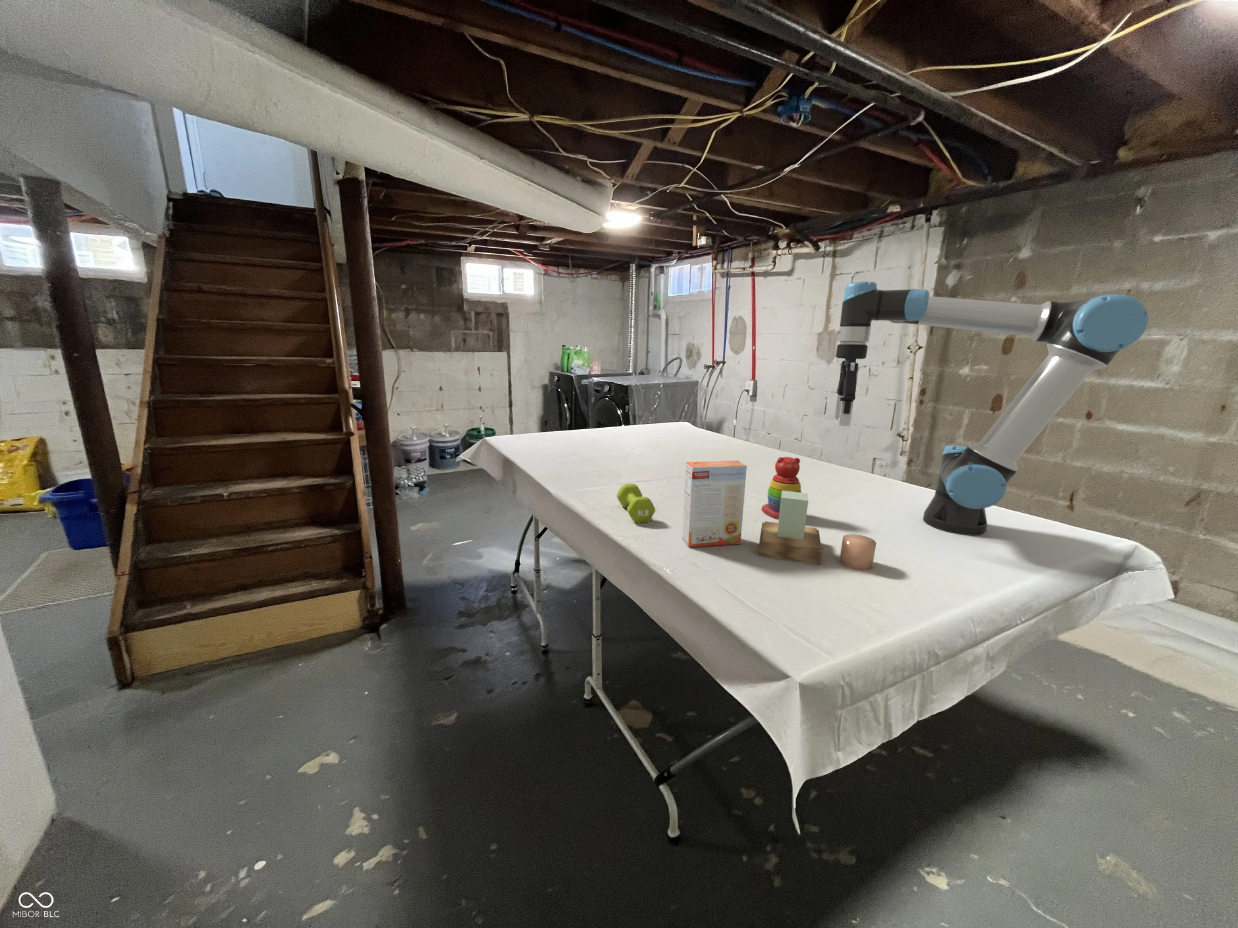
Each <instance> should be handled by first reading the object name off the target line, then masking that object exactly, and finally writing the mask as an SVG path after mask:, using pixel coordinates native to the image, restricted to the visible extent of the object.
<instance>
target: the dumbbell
mask: <svg viewBox="0 0 1238 928" xmlns="http://www.w3.org/2000/svg"><path fill="white" fill-rule="evenodd" d="M616 498H617V500H618V502H619V504H620V505H621V507H622V508H624V507H628V508H627V509H626V510H627V513H628V515H629V517H630V518H631V519H632V521H633V522H634V523H635V524H643V522H644V523H647V522H649V521H650V520H651V519H652V518H653V516H654V514H655V512H656V507H655V506H654V504H653V502H652V499H650V498H649V497H647V496H643V493H642V492H641V490H640V488H639V486H638V485H637V484H636V483H624V484H622V485H621V486H620V488H619V490H618V491H617V493H616Z"/></svg>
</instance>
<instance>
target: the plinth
mask: <svg viewBox="0 0 1238 928" xmlns="http://www.w3.org/2000/svg"><path fill="white" fill-rule="evenodd" d="M760 529H761V530H760V536H759V543H758V551H757V552H758V553H757V556H759V557H766V558H767V557H768V558H773V559H777V560H778V559H779V560H785V561H791V562H798V563H805V564H811V565H817V566H820V565H821V561H822V555H823V550H822V549H823V548H822V543H821V536H820V530H819V529H817V527H811V526H805V531H804V538H803V540H799V539H792V538H785V537H778V536H777V532H778V522H774V521H773V522H772V521H764V522H763V521H762V522H761V528H760Z"/></svg>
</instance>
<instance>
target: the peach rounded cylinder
mask: <svg viewBox="0 0 1238 928" xmlns="http://www.w3.org/2000/svg"><path fill="white" fill-rule="evenodd" d="M876 547H877V542H876V540H874V539H872V538H871V537H869V536H866V535H862V534H853V533H850V534H844V535H843V536H842V542H841V548H840V554H839V555H840V556H839V559H838V560H839V563H840V564H841V565H842V566H844V567H846V568H848V569H851V570H855V571H860V572H861V571H864V572H865V571H870V570H872V569H873V564H874V559H875V553H876Z"/></svg>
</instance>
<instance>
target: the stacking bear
mask: <svg viewBox="0 0 1238 928" xmlns="http://www.w3.org/2000/svg"><path fill="white" fill-rule="evenodd" d="M800 462H801V459H800V458H798V457H795V458H794V457H792V456H784V457H781V456H780V457H778V458H777V461H776V462H775V464H774V469H775V473H776V474H774V476H772V479H771V481H770V484H769V486H768V490H767V503H766V504H763V505H762V506H761V511H762V513H764V514H765V515H766V516H768V517H771V518H772V519H774V520H779V513H780V504H781V495H782V491H791V492H800V493H802V485H801V482H800V480H799V478H798V477H797V475H798V474H799V472H800V464H801V463H800Z"/></svg>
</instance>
